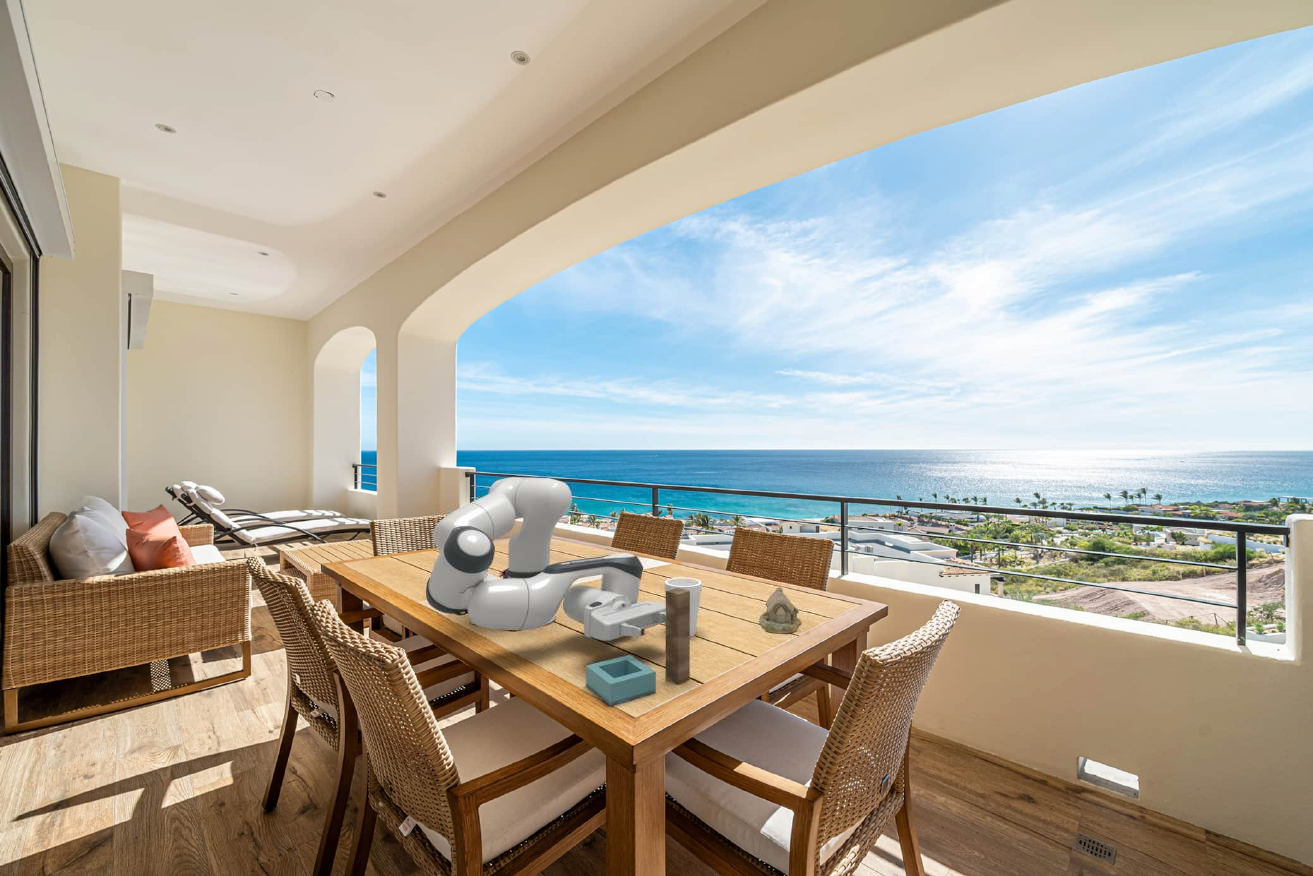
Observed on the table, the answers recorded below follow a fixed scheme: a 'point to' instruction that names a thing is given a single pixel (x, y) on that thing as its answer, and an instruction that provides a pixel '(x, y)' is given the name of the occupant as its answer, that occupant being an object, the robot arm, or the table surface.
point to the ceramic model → (779, 614)
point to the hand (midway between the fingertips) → (657, 627)
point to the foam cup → (695, 592)
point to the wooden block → (677, 635)
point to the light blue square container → (620, 679)
